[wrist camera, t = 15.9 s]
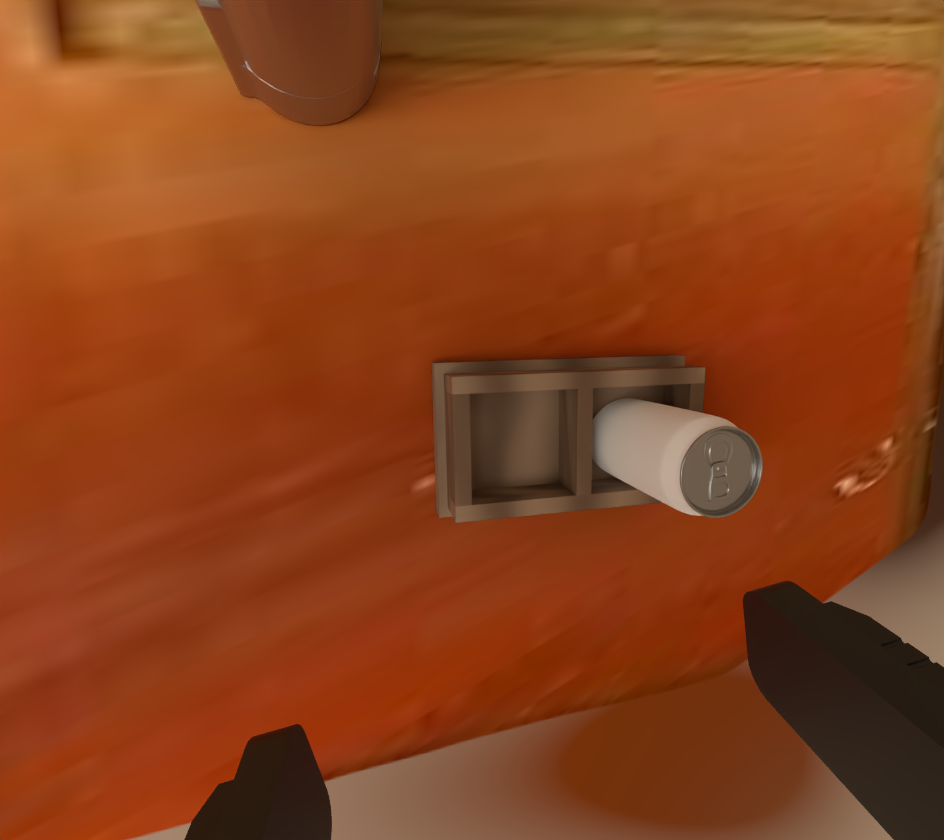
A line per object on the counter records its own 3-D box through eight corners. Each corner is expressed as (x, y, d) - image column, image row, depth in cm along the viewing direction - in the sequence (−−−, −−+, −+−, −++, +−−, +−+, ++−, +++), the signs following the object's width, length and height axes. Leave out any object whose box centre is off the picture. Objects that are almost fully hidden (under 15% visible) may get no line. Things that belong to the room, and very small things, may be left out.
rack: (436, 511, 40) (446, 534, 36) (431, 362, 39) (441, 365, 34) (668, 489, 45) (705, 507, 40) (674, 354, 43) (714, 356, 38)
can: (655, 392, 41) (769, 412, 30) (658, 467, 42) (769, 514, 31) (582, 403, 40) (672, 427, 29) (588, 480, 41) (676, 534, 30)
